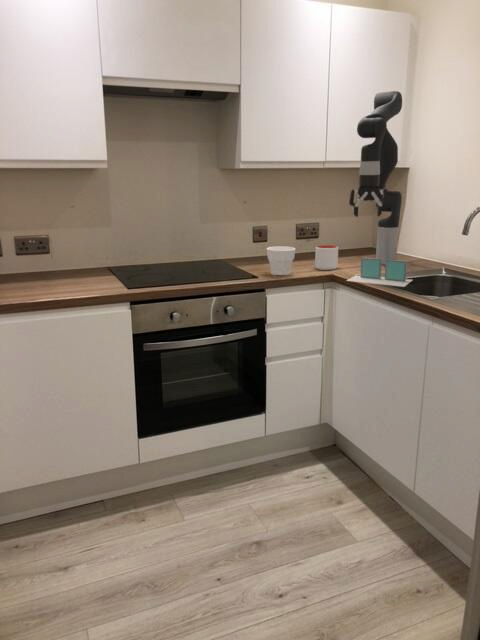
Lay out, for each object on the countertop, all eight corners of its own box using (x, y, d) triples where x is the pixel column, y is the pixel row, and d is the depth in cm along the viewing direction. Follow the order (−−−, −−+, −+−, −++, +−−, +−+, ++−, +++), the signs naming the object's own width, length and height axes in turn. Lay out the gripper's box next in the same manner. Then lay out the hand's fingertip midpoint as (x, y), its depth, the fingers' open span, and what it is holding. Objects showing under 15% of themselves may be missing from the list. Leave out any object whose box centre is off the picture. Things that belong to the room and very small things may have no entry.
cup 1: (292, 277, 215) (293, 251, 212) (263, 276, 218) (263, 250, 215) (297, 271, 227) (297, 246, 224) (269, 270, 230) (269, 245, 226)
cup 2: (313, 270, 229) (314, 248, 226) (316, 266, 238) (317, 244, 236) (336, 271, 227) (337, 248, 224) (338, 267, 236) (339, 245, 233)
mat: (357, 275, 218) (357, 274, 217) (412, 280, 206) (412, 279, 206) (345, 281, 206) (345, 280, 206) (404, 287, 195) (404, 286, 195)
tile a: (361, 276, 213) (362, 257, 211) (380, 278, 209) (382, 258, 207) (360, 277, 212) (361, 258, 210) (379, 279, 208) (380, 259, 206)
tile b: (385, 278, 208) (387, 259, 206) (405, 280, 205) (407, 260, 202) (384, 279, 207) (385, 260, 205) (404, 281, 203) (406, 261, 201)
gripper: (385, 172, 201) (383, 214, 206) (349, 173, 201) (347, 215, 206) (390, 173, 194) (387, 217, 199) (352, 174, 194) (350, 217, 199)
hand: (367, 216), depth 202 cm, fingers open, 8 cm apart
